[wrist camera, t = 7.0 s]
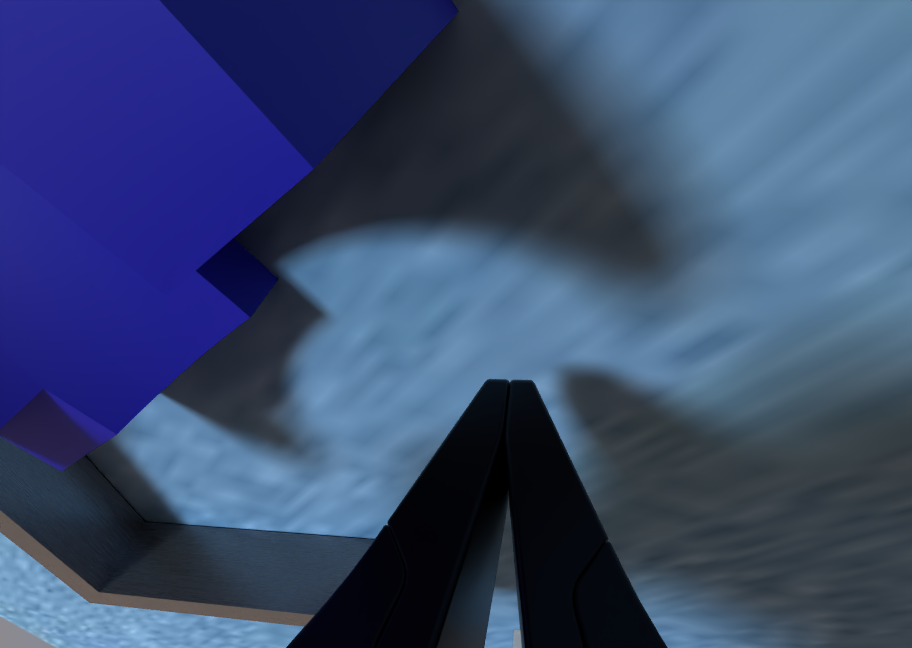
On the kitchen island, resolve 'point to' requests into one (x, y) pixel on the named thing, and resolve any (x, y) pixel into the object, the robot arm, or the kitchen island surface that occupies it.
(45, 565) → the rail bay
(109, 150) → the blue stepped block
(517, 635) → the hinge
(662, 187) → the kitchen island surface
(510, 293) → the kitchen island surface
